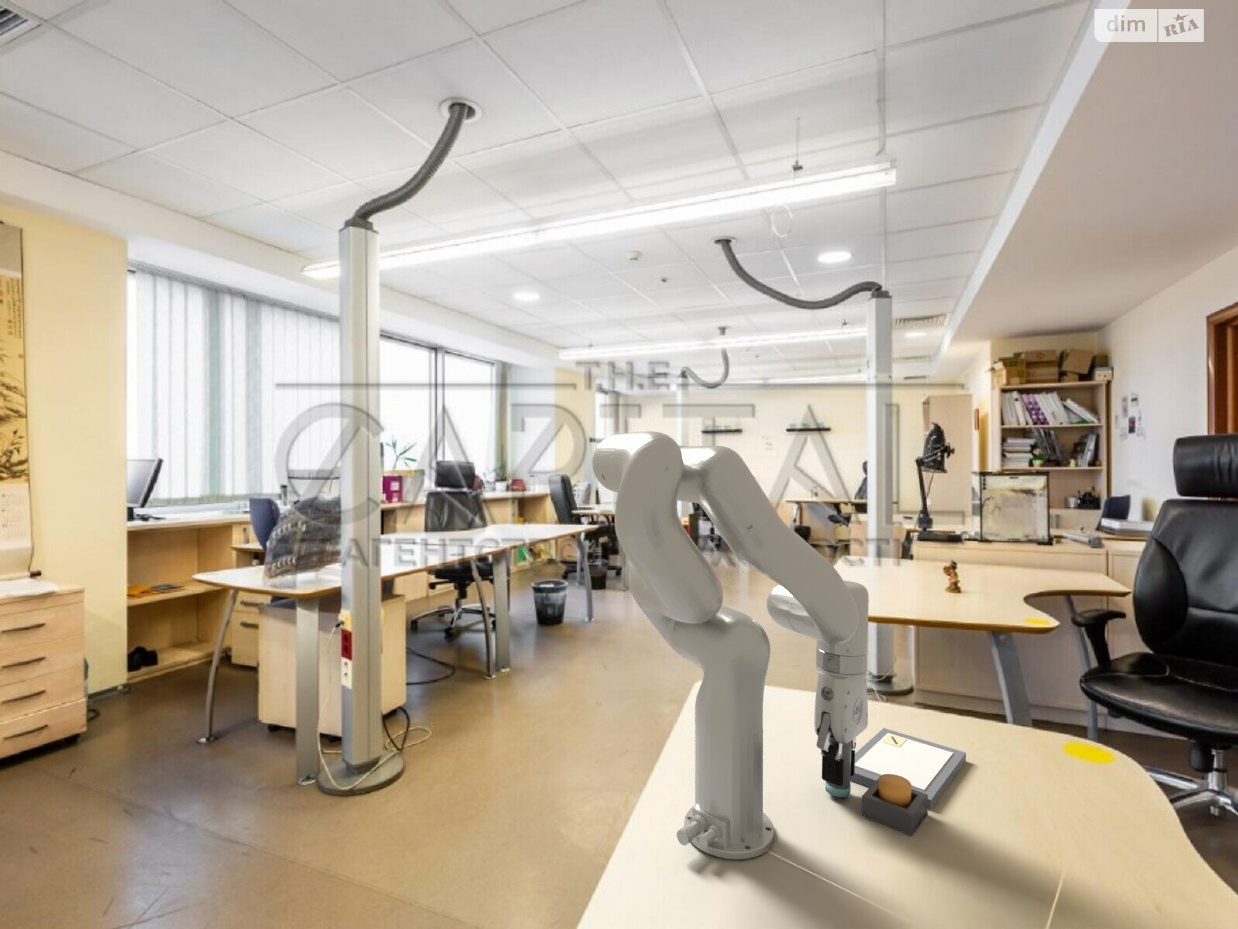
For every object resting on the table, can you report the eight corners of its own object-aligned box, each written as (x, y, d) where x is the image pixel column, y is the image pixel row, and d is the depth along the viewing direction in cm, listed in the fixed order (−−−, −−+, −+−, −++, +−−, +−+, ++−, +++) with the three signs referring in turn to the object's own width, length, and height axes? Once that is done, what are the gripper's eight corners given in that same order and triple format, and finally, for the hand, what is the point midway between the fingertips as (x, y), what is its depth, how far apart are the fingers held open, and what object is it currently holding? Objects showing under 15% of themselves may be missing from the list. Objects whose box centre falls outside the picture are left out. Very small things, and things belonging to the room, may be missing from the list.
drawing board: (930, 810, 91) (930, 798, 91) (839, 776, 100) (839, 765, 100) (965, 761, 105) (965, 750, 105) (883, 735, 115) (883, 726, 115)
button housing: (911, 836, 85) (912, 815, 85) (861, 815, 89) (862, 795, 89) (927, 814, 90) (927, 794, 90) (879, 796, 95) (879, 777, 95)
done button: (905, 810, 86) (905, 793, 86) (874, 798, 90) (874, 782, 89) (915, 797, 90) (915, 781, 90) (884, 786, 93) (885, 770, 93)
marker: (844, 800, 92) (846, 728, 92) (820, 790, 95) (822, 720, 95) (854, 791, 95) (856, 721, 95) (831, 782, 97) (833, 714, 97)
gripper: (842, 680, 86) (839, 808, 86) (884, 655, 98) (882, 768, 98) (794, 667, 91) (790, 788, 91) (839, 645, 103) (837, 752, 103)
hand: (838, 776), depth 95 cm, fingers closed on marker, 3 cm apart
